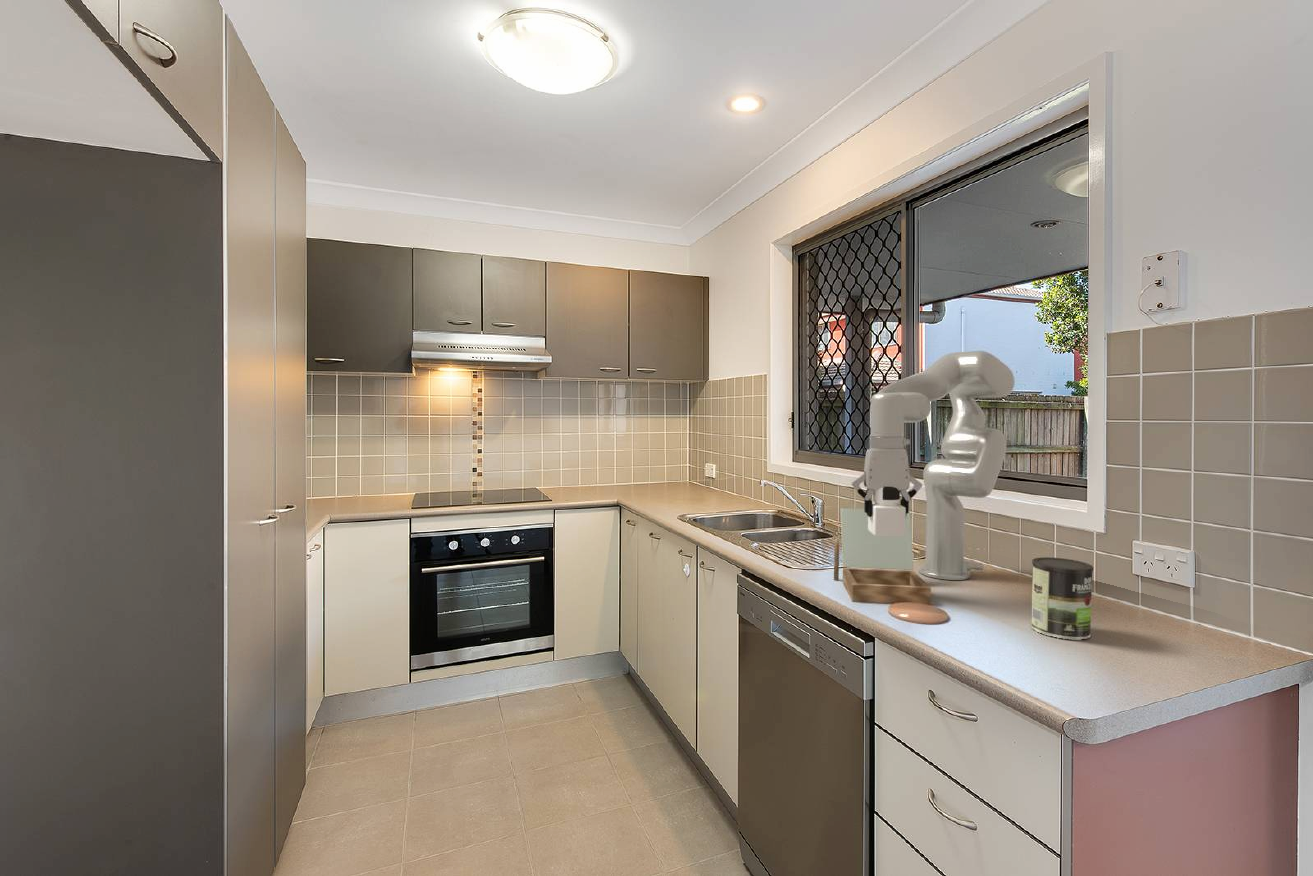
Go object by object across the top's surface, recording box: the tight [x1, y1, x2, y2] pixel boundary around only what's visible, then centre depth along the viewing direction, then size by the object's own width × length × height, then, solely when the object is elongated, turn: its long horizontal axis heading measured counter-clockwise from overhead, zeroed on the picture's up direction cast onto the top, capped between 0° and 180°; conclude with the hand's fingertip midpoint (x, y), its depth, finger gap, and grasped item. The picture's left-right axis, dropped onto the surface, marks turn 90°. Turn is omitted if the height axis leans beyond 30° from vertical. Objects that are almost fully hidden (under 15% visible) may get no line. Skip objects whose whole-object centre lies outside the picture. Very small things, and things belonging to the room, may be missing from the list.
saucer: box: [888, 602, 949, 625], centre depth 134 cm, size 12×12×1 cm
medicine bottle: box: [868, 487, 906, 537], centre depth 148 cm, size 7×7×12 cm
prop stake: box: [833, 537, 840, 582], centre depth 161 cm, size 1×1×11 cm
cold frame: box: [842, 567, 932, 606], centre depth 149 cm, size 17×15×4 cm
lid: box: [839, 507, 914, 571], centre depth 160 cm, size 17×15×2 cm
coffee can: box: [1030, 556, 1094, 641], centre depth 123 cm, size 10×10×14 cm
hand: (886, 515), depth 148 cm, fingers closed on medicine bottle, 7 cm apart
